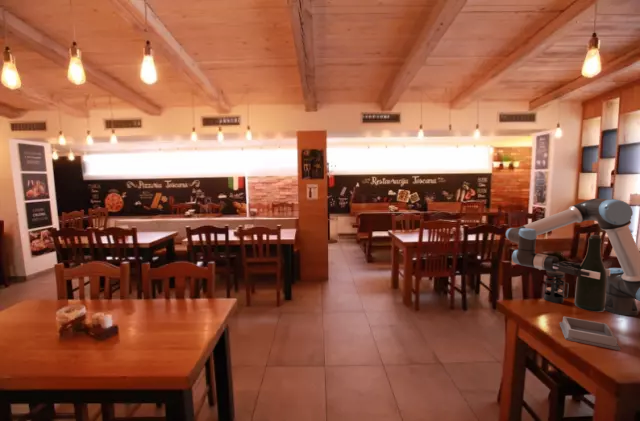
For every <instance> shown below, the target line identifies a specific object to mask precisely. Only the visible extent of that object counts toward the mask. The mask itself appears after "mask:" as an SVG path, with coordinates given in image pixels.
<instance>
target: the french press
mask: <svg viewBox="0 0 640 421" xmlns="http://www.w3.org/2000/svg"><path fill="white" fill-rule="evenodd" d="M545 272H546V274H547V276H548V277H549V278H548V277H547V278H545V283H544V297H543V300H545V301H547V302H549V303H552V304H553V303H554V304H563V303H564V302H565V300H564V299H568V298H569V285H570V284H569V282H565V281H564V280H562V279H563V278H565V275H566V273H564V272H560V271H556V272H551V271H546V270H545ZM550 277H552V278H550ZM547 284H550V285H551V286H549V287H547ZM565 285H567V286H566V296H565V294H564V293H565ZM559 286H563V287H562V289H561V288H559Z"/></svg>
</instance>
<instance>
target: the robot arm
mask: <svg viewBox="0 0 640 421" xmlns="http://www.w3.org/2000/svg"><path fill="white" fill-rule="evenodd" d="M633 215H634V213H633V209H632V207H631V206H630V204H629V203H627V202H626V201H623V200H620V199H615V198H599V197H597V198H596V197H595V198H590V199H587V200H583V201H581V202H579V203H576V204H574V205H570V206H569V207H568V208H567V209H565V210H563V211H560V212H557V213H554V214H552V215H549V216H546V217H544V218H540V219H538V220H536V221H533V222H530V223H528V224H527V223H526V224H524V225H522V226H519V227H510V228H508V229H507V230H506V231H505V237H506V239H508V241H510V242H512V243H515V244H517V246H518V248H517V249H515V250H513V252H512V254H511V259H512V262H513V263H514V264H516V265H520V266H522V267H523V266H524V267H529V268H534V269H538V270H539V271H541V270H543V271H545V272H546V271H551V272H556V271H560V272H564V273H565V274H569V275H572V276H576V278H577V277H580V275H581V276H586V277H590V278H595V279H600V273H599V272H593V271H588V270H583V269H581V271H580V269H579V267H580V265H581V263H580V262H573V261H568V260H567V261H566V260H564V261H563V260H562V261H560V259H559V257H558V256H553V255H548V254H542V253H537V252H536V247H537V237H538V236H540V235H543V234H546V233H549V232H551V231H555V230H557V229H560V228H564V227H566V226H568V225H572V224H574V223H583V222H587V221H594V222H595V221H596V223H597V224H598V227H599V229H601V230H602V231H605V233H606V235H607V237H608V239H609V241H610V244H611V247H612V249H613V252H614V254H615V256H616V258H617V260H618V263H619V265H620V267H609V268H605V269H606V273H607V289H606V304H605V310H604V311H606V312H609V313H612V314H616V315H621V316H629V317H630V316H631V317H635V316H639V308H638V305H637V302H636V300H637V301H638V302H640V251H639V248H638V245H637V244H636V242H635V239H634V236H633V235H632V232H631V229H630V228H629V226H630V225H631V224H632V222H631V219H632V216H633Z"/></svg>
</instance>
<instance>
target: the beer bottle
mask: <svg viewBox="0 0 640 421" xmlns="http://www.w3.org/2000/svg"><path fill="white" fill-rule="evenodd" d="M587 241H588V244H587V249H586V250H587V251H586V255H585V257H584V259H583V261H582V262H581V263H580V264H581V265H580V267H579V269H580V271H581V269H583V270H588V271H593V272H599V273H600V279H595V278H590V277H586V276H581V275H580V277H577V276H576V283H575V292H574V305H575V307H577V308H579V309H581V310H585V311H589V312H594V313H596V312H597V313H600V312H604V311H606V310H605V304H606V289H607V273H606V269H607V268H606V267H605V264H604V262H603V258H602V252H601V251H602V250H601V249H602V243H603V242H602V238H601V235H598V234H590V236H589V237H588V239H587Z"/></svg>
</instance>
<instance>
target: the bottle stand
mask: <svg viewBox="0 0 640 421" xmlns="http://www.w3.org/2000/svg"><path fill="white" fill-rule="evenodd" d="M559 326H560V328H561V332H562V334H563V336H564V339H565V340H566V341H571V342H576V343H581V344H585V345H590V346H595V347H600V348H606V349H610V350H616V351H621V347H620V345H619V344H618V337H617V336H616V335H615V334H614V332H613V331H612V329H611V328H610V326H609V325H608V324H607V323H605V322H598V321H594V320H593V321H592V320H587V319H582V318H581V319H580V318H576V317H570V316H562V321H560V322H559Z"/></svg>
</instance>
